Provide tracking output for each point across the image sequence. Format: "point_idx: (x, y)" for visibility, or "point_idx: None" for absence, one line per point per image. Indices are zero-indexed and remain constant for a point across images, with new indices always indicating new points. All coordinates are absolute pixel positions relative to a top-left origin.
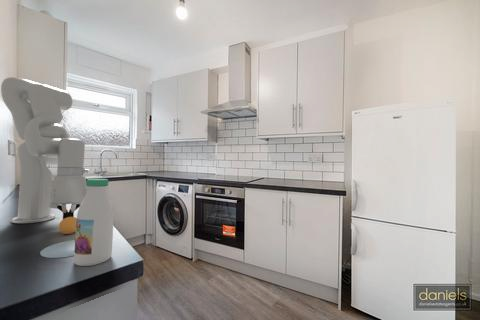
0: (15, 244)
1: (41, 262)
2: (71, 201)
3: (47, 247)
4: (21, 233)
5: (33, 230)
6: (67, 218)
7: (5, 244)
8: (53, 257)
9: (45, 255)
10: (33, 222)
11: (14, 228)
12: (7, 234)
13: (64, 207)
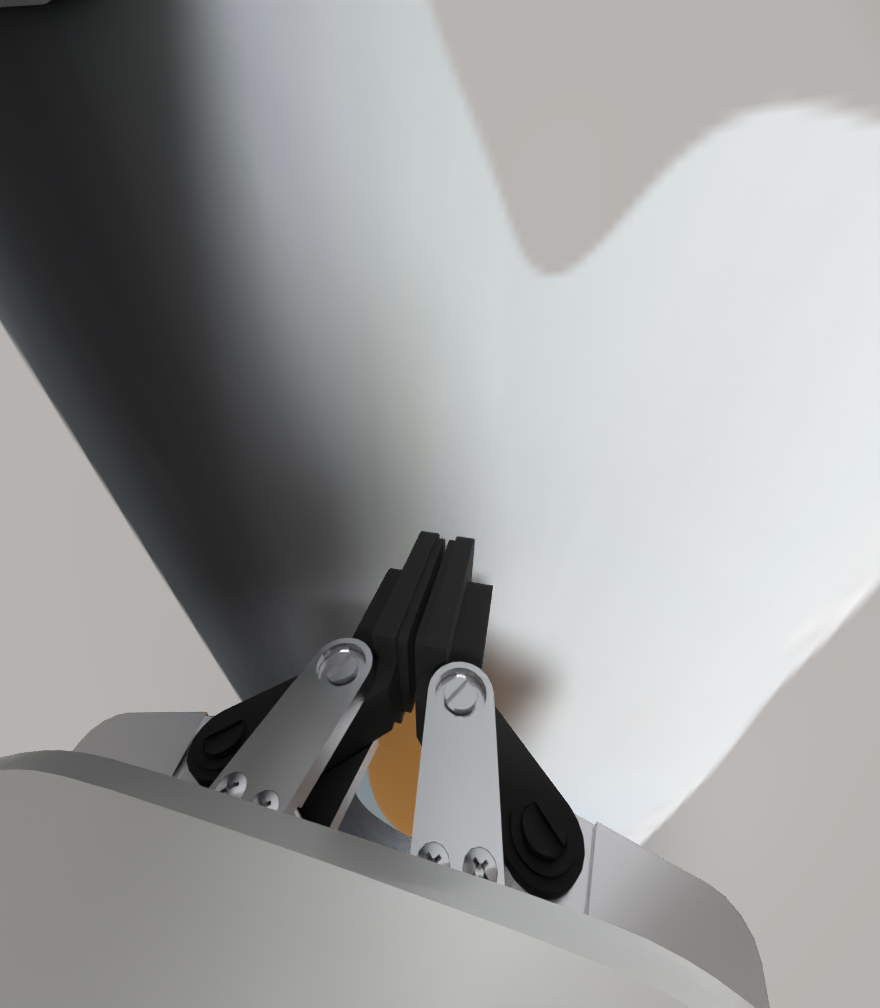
0: (249, 674)
1: (368, 821)
2: None
3: (367, 774)
4: (184, 510)
5: (225, 475)
6: (401, 831)
7: (211, 650)
8: (391, 825)
9: (371, 810)
10: (33, 2)
11: (26, 278)
12: (111, 479)
13: (324, 802)
